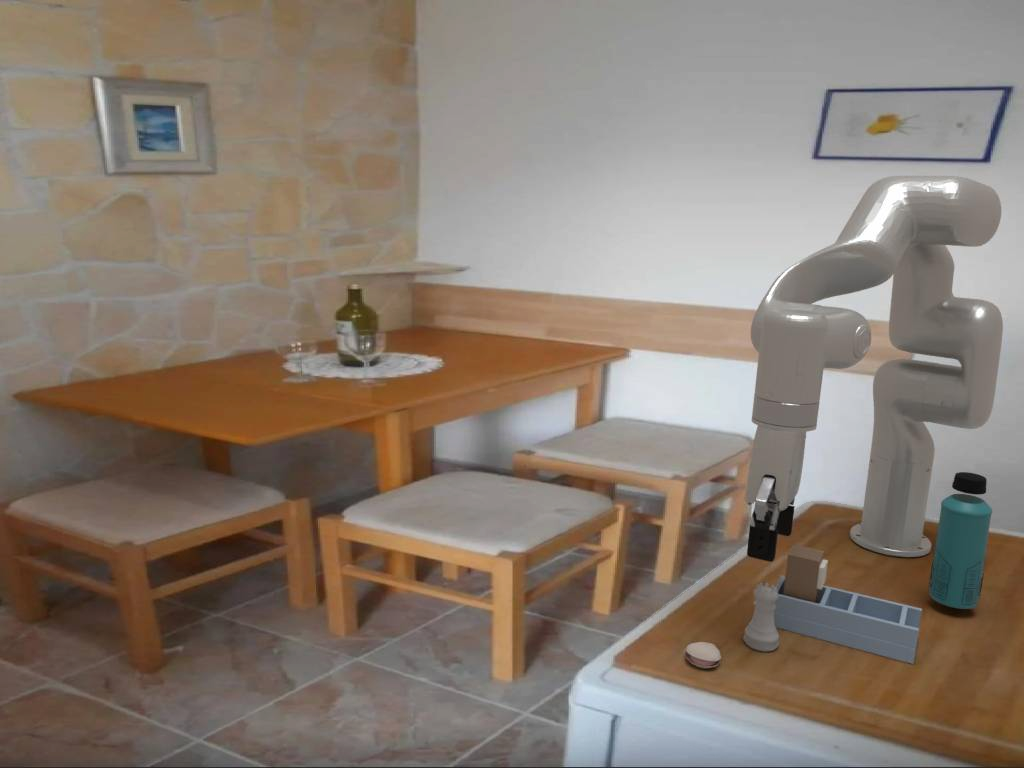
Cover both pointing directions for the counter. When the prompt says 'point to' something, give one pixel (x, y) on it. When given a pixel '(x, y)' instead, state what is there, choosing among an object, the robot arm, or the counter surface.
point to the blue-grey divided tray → (842, 611)
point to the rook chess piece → (763, 620)
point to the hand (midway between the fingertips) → (769, 545)
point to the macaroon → (703, 654)
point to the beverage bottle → (961, 544)
